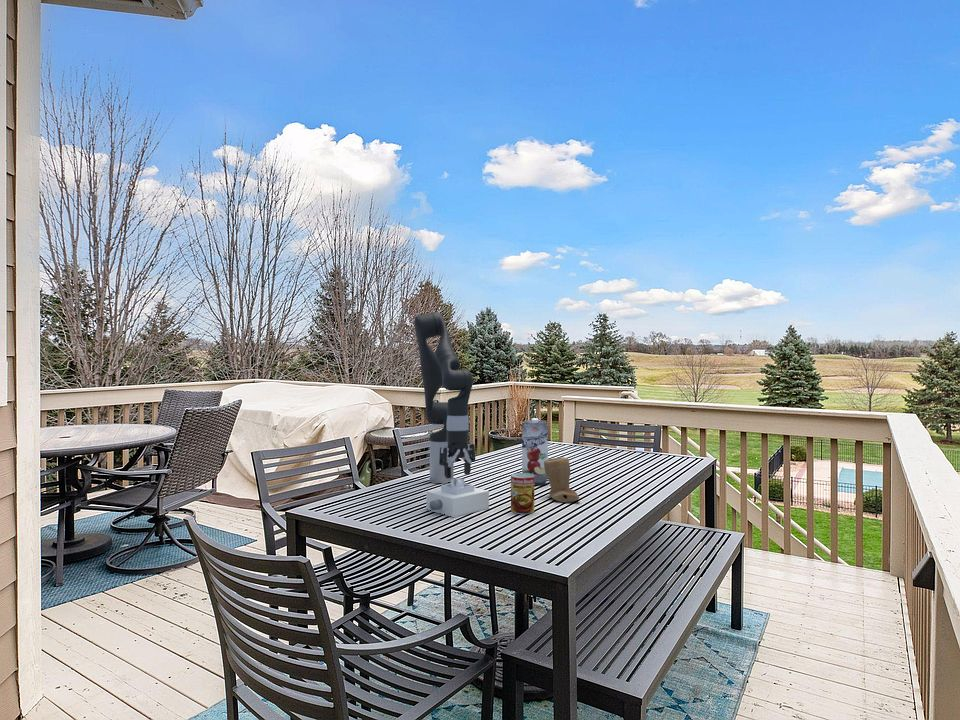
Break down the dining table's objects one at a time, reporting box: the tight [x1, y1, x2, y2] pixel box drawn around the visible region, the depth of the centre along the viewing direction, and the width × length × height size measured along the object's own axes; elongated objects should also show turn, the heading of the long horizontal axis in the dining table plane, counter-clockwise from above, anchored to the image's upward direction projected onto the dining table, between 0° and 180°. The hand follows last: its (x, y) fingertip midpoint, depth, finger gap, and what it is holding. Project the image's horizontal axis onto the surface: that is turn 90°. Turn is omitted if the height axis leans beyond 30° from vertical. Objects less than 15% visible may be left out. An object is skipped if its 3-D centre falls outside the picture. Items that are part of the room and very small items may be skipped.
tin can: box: [450, 477, 465, 488], centre depth 191 cm, size 4×4×10 cm
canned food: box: [510, 472, 535, 515], centre depth 189 cm, size 8×8×12 cm
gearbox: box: [425, 482, 490, 518], centre depth 190 cm, size 19×14×8 cm
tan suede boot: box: [544, 456, 580, 503], centre depth 206 cm, size 15×12×15 cm
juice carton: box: [521, 417, 549, 486], centre depth 232 cm, size 9×10×27 cm
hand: (457, 476), depth 192 cm, fingers open, 8 cm apart
